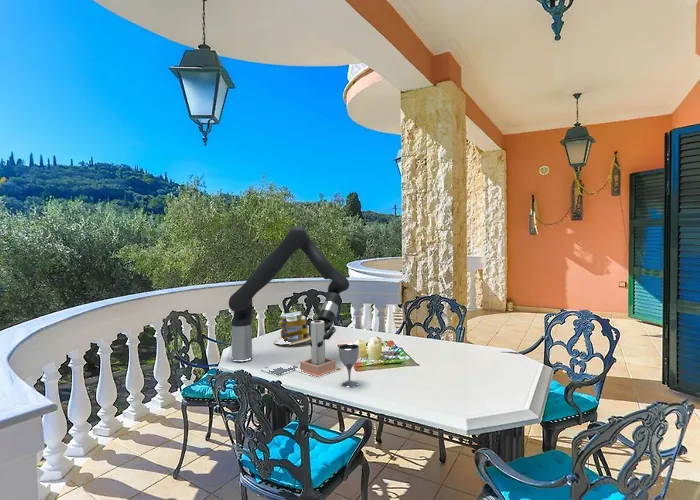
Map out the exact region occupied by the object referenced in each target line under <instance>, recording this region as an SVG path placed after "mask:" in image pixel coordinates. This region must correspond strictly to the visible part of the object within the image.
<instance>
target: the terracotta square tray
mask: <svg viewBox="0 0 700 500" xmlns="http://www.w3.org/2000/svg"><path fill="white" fill-rule="evenodd" d="M336 364H337V363H336V359H335V360H334V359H331V358H327V357H325V363H324V364H321V365H318V366H317V365H313V364H312V362H311V357H310V358H308V359H305V360H302V361H299V368H300V369H301V372H304V373H307V374H310V375H312V376H311V377H313V376H316V377H319V376H322V375H324V374H327V373H329V374H331V373H330V372H332V371H334V372H336V371H335V370H337V371H339V370H338V369H340V370H341V367H338V366H337V365H336ZM302 370H303V371H302ZM332 373H333V372H332ZM310 375H309V376H310ZM327 375H328V374H327ZM324 376H325V375H324ZM316 377H315V378H316ZM322 377H323V376H322ZM319 378H320V377H319Z"/></svg>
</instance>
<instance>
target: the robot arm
mask: <svg viewBox="0 0 700 500" xmlns="http://www.w3.org/2000/svg"><path fill="white" fill-rule="evenodd" d="M298 249H300V250H301V251H302V252H303V253H304V254H305V256H306V257H307V258H308V260H309V261H310V263H311V264H312V266H313V267H314V269H315V270H316V271H317V272H318V274H320V276H321V277H322V278H323V279H324V280H331V281H330V282H329V285H328V287H327V293H326V294H327V295H326V298H325V300H324V302H323V304H322V306H321V308H320V311H319V312H318V313H319V314H318V315H317V318H316V320H321V321H324V329H325V336H323V340H325V341H326V340H327V341H328V340H330V338H331V337H332V336H333V335H334V334H335V333H336V332H337V329H336V327H335V326H333V324H334V322H335V320H336V317H337V314H338V310H339V306H340V304H341V302H342V297H341V295H340V294H341V293H343V292H346V291H347V290H348V289H349V288H350V282H349V280H348V278H347V277H346V276H345V275H344V274H343V273H342V272H340V271H338V270H337V269H336V268H334V266H333V265H332V264H331V263H330V262H329V260H328V259H327V258H326V257H325V256H324V255H323V254H322V252H321V251H320V250H319V249H318V248H317V246H316V245H315V244H314V242H313V241H312V239H311V238H310V236H309V234H308V231H307V230H306V229H305V227H303V226H300V225H296V226H293V227H291V228H290V229H289V231H288V232H287V234H286V235H285V237H284V239H283V240H282V241H281V243H280V244H279V245H278V246H277V247H276V248H275V249H274V250H273V251H272V252H270V253H269V254H268V255H267V256H265V258H264V259H263V260H262V261H261V262H260V263H259V264H258V266H257V267H256V269H254V271H253V272H252V274H250V276H249V277H248V279H246V281H245V282H244V284H242V286H241V287H240V288H238V289H237V290H236V291H235V292H234V293H233V294H231V296H230V297H229V299H228V307H229V309H230V310H231V311H233V316H232V319H231V342H230V343H231V347H230V348H231V358H232V357H233V360H246V359H249V358H251V357H252V358H253V337H252V333H253V332H252V331H253V330H252V320H253V298H254V297H255V295H257V294H258V292H259V291H261V290H262V289H263V288H264V287H266V286H267V285H268V284H270V282H271V281H273V280H274V278H275V277H276V276H277V275H278V274H279V273H280V271H281V270H282V269H283V267H285V264H286V263H287V262H288V260H289V259H290V258H291V256H293V255H294V253H295V252H296V251H297V250H298ZM308 332H309V336H310V337H311V323H310V324H308ZM323 340H322V341H321V342H319V343H318V344H317V346H318V347H320V346H322V345H323ZM308 343H309V345H310V348H311V347H312V341H311V339H310V340H309V342H308ZM233 360H232V361H233Z"/></svg>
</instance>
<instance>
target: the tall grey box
mask: <svg viewBox="0 0 700 500" xmlns="http://www.w3.org/2000/svg"><path fill="white" fill-rule="evenodd" d="M310 324H311V339H310V340H311V341H312V347H311V346H310V349H311V350H310V351H311V353H310V355H311V357H310V358H311V362H312V364H313V365H317V366H318V365H321V364H324V363H325V358H326V342H325V341H326V340H323V336H325V329H324V321H321V320H317V319H316V320H312V321H310ZM322 340H323V345H322V346H320V347H318V346H317V344H318V343H319V342H321V341H322Z"/></svg>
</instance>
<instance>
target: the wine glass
mask: <svg viewBox="0 0 700 500" xmlns="http://www.w3.org/2000/svg"><path fill="white" fill-rule="evenodd" d="M359 352H360V346H359V345H358V344H355V343H345V344H344V343H343V344H340V345H339V346H338V356H339V360H340V361H341V362H340V363H342V364H343V365H344V367H345V368H346V369H347V375H348V380H344V381H345V382H344V381H342V382H343V383H342V382H341V383H342V385H343V386H345V387H344V388H354V387H353V386H355V387H357V386H358V385H359V382H358V381H356V380H351V372H352V368H354V366H355V365H356V363H357V362H358V360H359V355H360V353H359ZM355 381H356V382H355ZM357 382H358V383H357ZM357 384H358V385H357ZM356 385H357V386H356ZM343 386H342V387H343Z"/></svg>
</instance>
